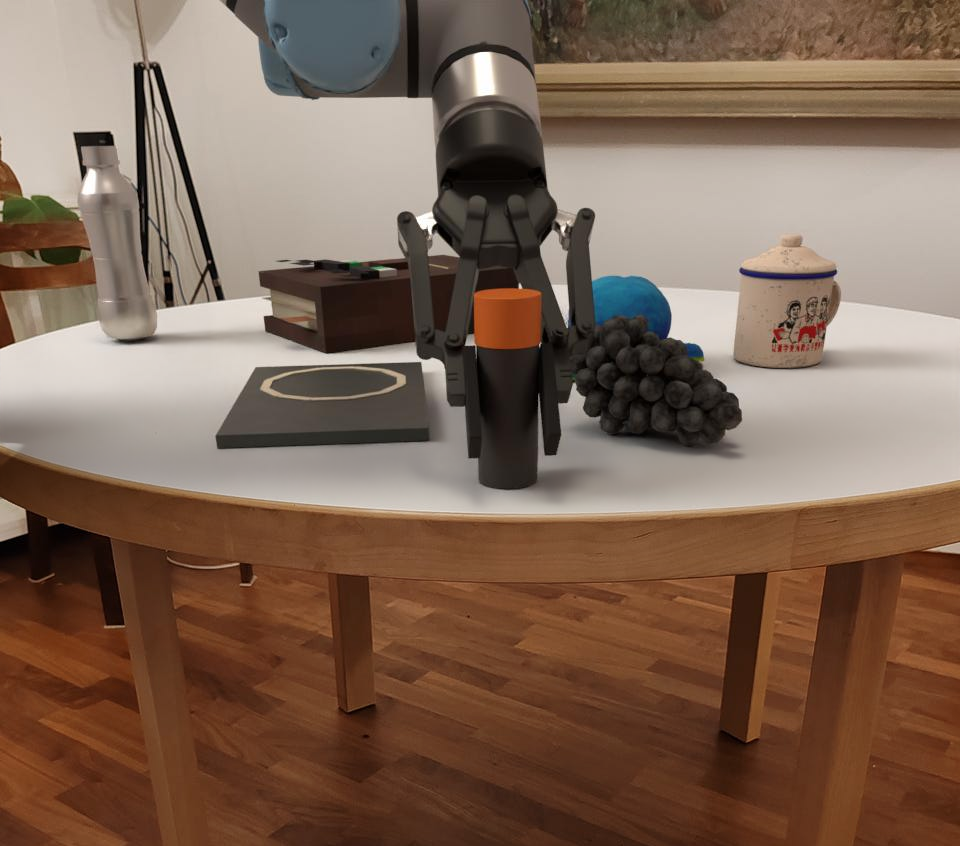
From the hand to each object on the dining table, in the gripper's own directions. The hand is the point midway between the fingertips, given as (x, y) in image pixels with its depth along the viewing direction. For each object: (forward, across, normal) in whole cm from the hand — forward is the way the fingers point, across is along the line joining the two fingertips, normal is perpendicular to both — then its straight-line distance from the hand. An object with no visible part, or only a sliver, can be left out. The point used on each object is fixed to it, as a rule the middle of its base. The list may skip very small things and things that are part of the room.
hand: (514, 445), depth 61 cm
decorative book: (-41, +8, -46) cm, 62 cm away
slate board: (-16, +13, -21) cm, 29 cm away
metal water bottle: (-40, +38, -45) cm, 71 cm away
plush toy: (-24, -14, -29) cm, 40 cm away
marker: (0, 0, -5) cm, 5 cm away
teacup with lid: (-25, -32, -30) cm, 50 cm away
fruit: (-6, -12, -12) cm, 18 cm away
